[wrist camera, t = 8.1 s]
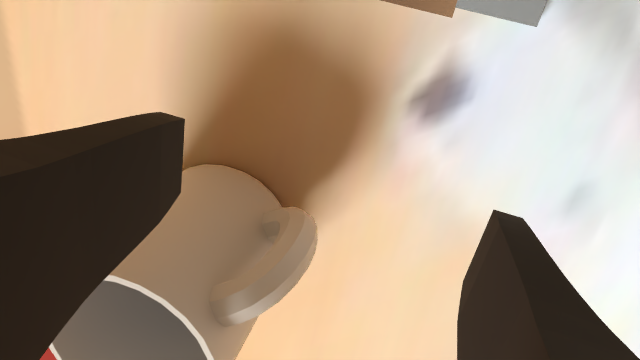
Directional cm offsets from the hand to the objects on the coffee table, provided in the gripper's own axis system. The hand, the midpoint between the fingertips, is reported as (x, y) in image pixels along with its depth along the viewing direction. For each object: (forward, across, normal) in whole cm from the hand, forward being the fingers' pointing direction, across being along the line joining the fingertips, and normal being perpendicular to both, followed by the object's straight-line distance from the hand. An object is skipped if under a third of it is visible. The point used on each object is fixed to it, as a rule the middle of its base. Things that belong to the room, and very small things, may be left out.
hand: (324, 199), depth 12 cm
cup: (+11, +5, +9) cm, 15 cm away
